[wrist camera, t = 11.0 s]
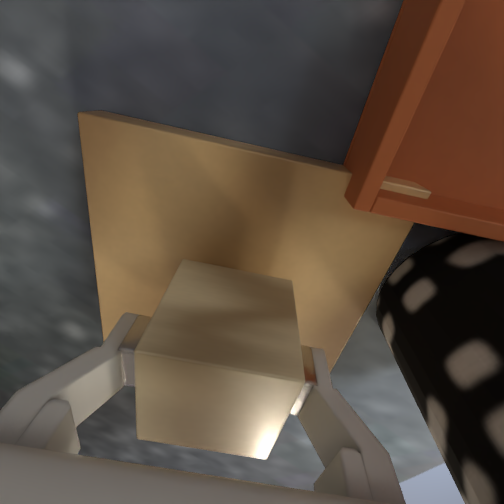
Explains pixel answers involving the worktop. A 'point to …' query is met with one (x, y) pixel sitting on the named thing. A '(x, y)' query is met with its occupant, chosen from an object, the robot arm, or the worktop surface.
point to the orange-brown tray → (436, 119)
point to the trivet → (230, 222)
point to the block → (219, 361)
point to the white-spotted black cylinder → (454, 353)
